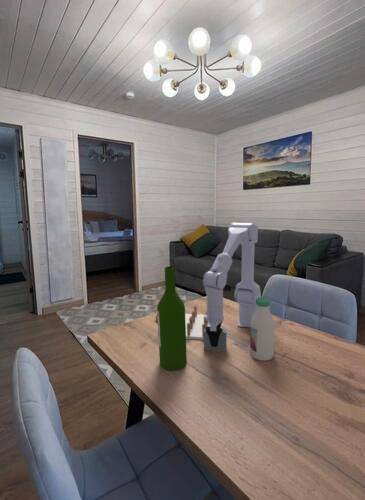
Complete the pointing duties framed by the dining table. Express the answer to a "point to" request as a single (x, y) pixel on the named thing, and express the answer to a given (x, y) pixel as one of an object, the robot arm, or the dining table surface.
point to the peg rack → (195, 325)
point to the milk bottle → (262, 331)
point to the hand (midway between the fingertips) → (215, 340)
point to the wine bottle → (171, 326)
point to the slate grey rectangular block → (221, 343)
